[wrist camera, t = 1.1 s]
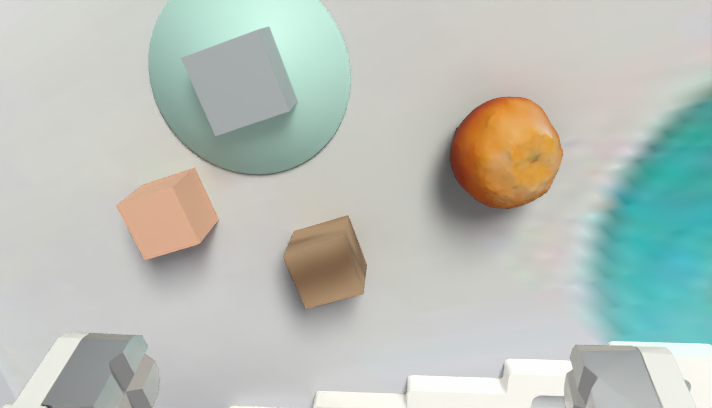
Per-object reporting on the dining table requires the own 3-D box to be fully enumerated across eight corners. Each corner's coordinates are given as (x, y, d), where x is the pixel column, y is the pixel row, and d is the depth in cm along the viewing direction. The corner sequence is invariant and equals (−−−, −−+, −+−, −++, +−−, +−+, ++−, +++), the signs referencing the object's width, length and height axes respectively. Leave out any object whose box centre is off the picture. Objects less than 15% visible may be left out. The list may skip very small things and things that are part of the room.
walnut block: (366, 264, 49) (363, 293, 44) (314, 278, 50) (305, 309, 45) (348, 215, 47) (342, 239, 42) (294, 230, 48) (283, 256, 43)
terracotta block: (219, 219, 48) (199, 243, 43) (169, 234, 49) (144, 260, 44) (195, 167, 46) (172, 187, 42) (143, 184, 47) (115, 205, 43)
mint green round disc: (377, 140, 44) (375, 154, 41) (201, 195, 47) (184, 213, 44) (307, -68, 39) (297, -74, 35) (114, 9, 42) (87, 11, 38)
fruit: (412, 119, 42) (476, 123, 35) (491, 83, 45) (566, 81, 37) (439, 212, 45) (505, 234, 38) (513, 173, 47) (587, 187, 40)
